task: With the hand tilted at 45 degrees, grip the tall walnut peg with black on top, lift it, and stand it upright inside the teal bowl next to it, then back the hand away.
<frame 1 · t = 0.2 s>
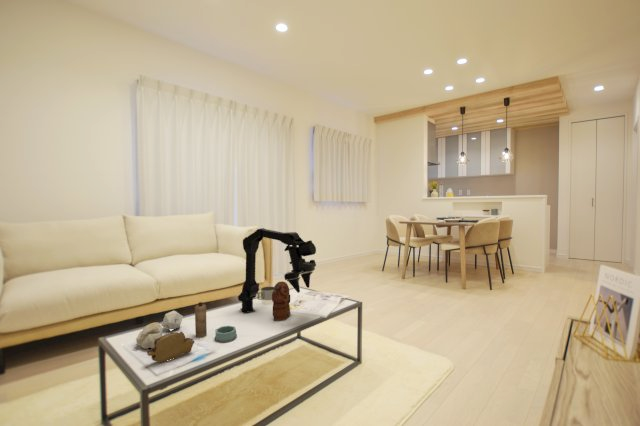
hand: (303, 289, 155), 15 cm above the table, tool pointing down, fingers open, 9 cm apart
wooden figurine: (282, 317, 161), on the table
die: (172, 329, 147), on the table
fossil replica: (150, 345, 131), on the table
walnut peg: (201, 335, 140), on the table
wooden carving: (171, 359, 120), on the table
teal bowl: (225, 337, 138), on the table
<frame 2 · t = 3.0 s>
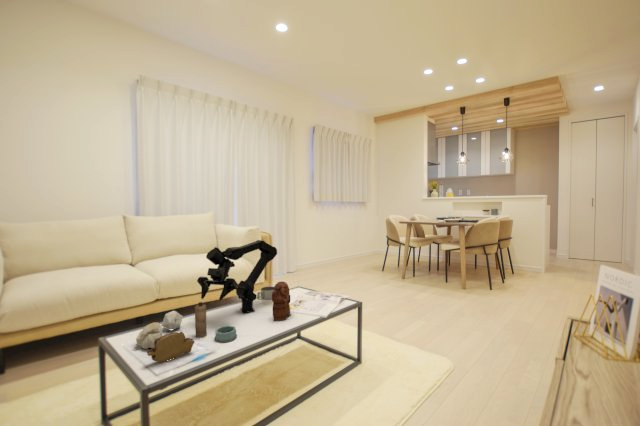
hand: (210, 299, 147), 14 cm above the table, tool tilted 45°, fingers open, 9 cm apart
nothing on the table moved.
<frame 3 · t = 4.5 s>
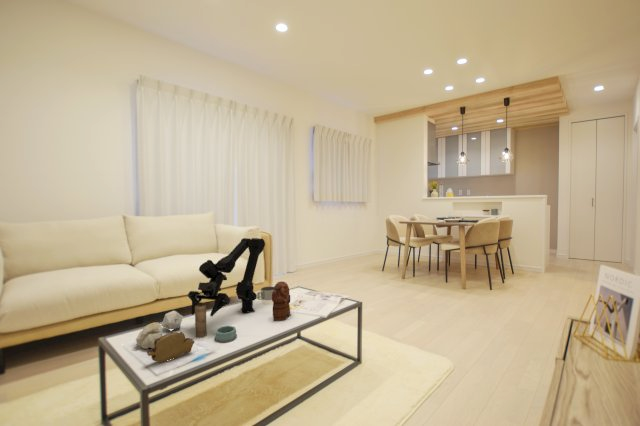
hand: (201, 315, 140), 9 cm above the table, tool tilted 45°, fingers open, 9 cm apart
nothing on the table moved.
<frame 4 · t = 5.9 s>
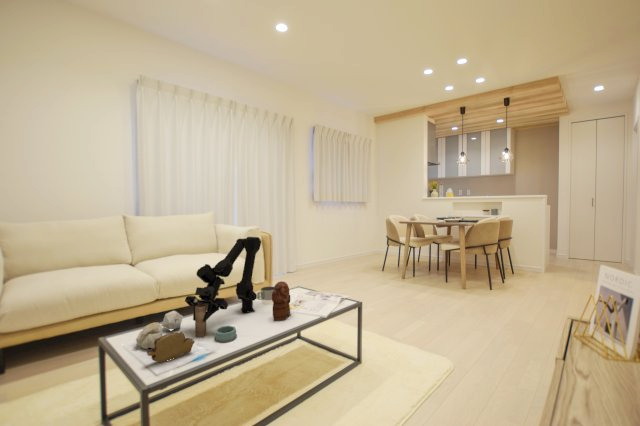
hand: (198, 320, 138), 7 cm above the table, tool tilted 45°, fingers closed on walnut peg, 4 cm apart
walnut peg: (201, 335, 140), on the table, touching gripper
everything else where it was.
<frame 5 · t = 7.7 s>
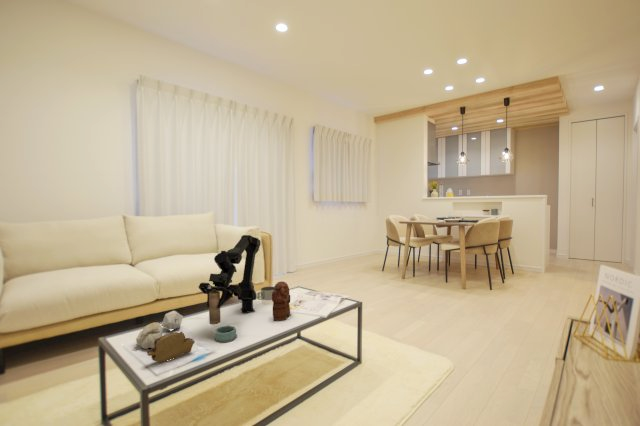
hand: (212, 307, 137), 13 cm above the table, tool tilted 45°, fingers closed on walnut peg, 4 cm apart
walnut peg: (215, 322, 138), point 6 cm above the table, touching gripper
everything else where it was.
when the fingers open (9 cm above the table, at t = 9.6 s): walnut peg drops 1 cm, resting on teal bowl.
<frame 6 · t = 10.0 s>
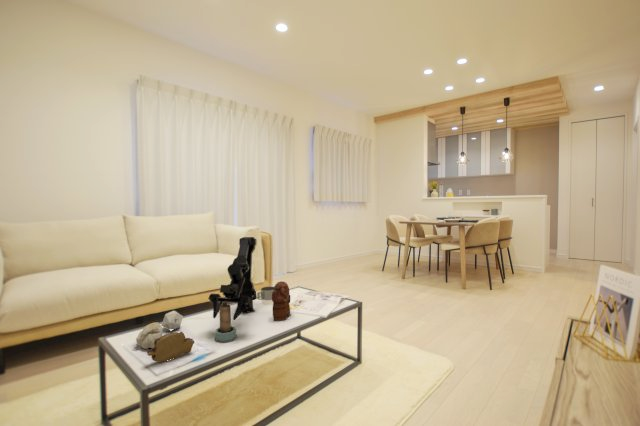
hand: (223, 318, 136), 9 cm above the table, tool tilted 45°, fingers open, 9 cm apart
walnut peg: (226, 336, 138), point 1 cm above the table, touching teal bowl
everything else where it was.
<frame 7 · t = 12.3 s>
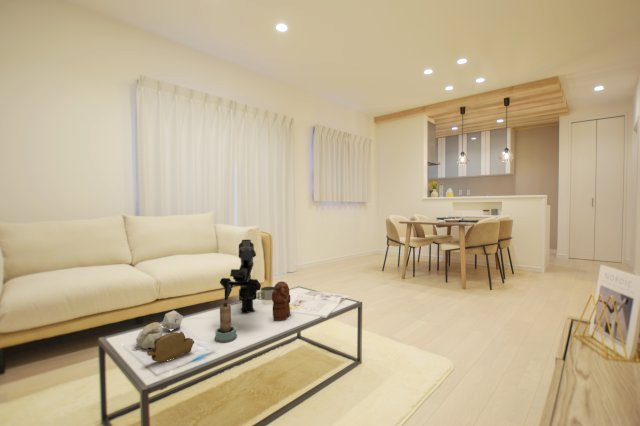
hand: (234, 300, 145), 13 cm above the table, tool tilted 45°, fingers open, 9 cm apart
nothing on the table moved.
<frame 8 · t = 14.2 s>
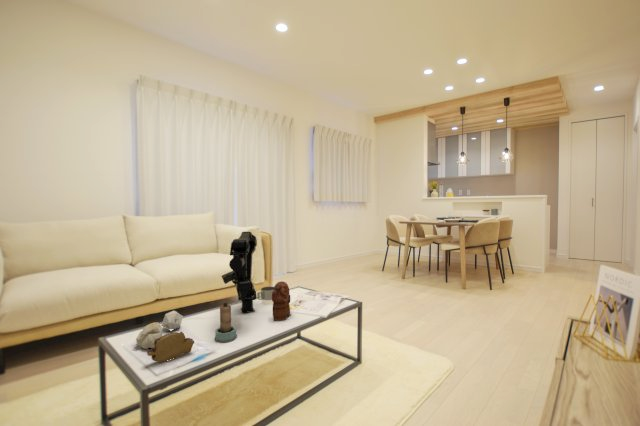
hand: (240, 298, 153), 12 cm above the table, tool pointing down, fingers open, 9 cm apart
nothing on the table moved.
at the end: walnut peg 0.1 cm off-centre on the teal bowl, point 0.6 cm above the teal bowl's base; walnut peg tilted 0°; the gripper is holding nothing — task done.
